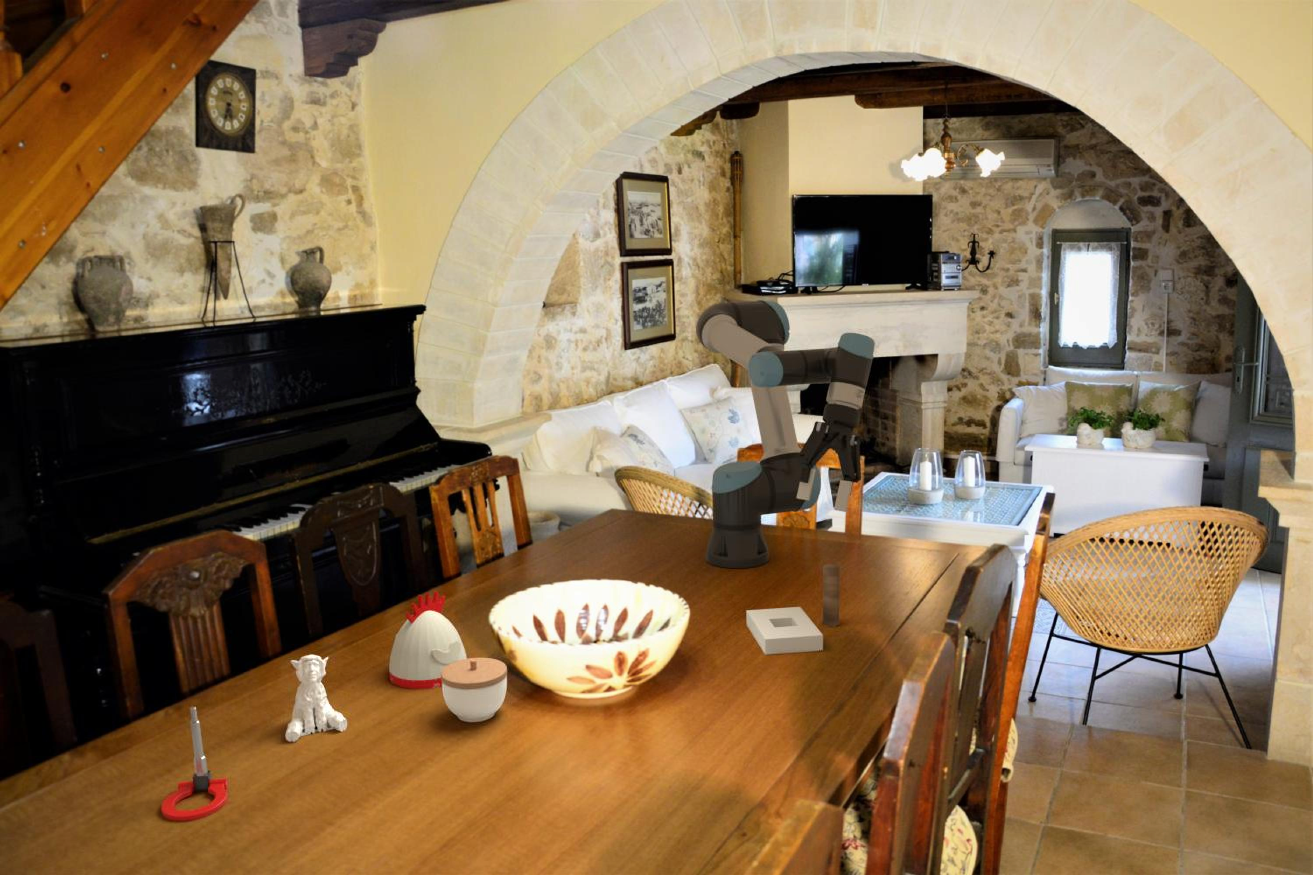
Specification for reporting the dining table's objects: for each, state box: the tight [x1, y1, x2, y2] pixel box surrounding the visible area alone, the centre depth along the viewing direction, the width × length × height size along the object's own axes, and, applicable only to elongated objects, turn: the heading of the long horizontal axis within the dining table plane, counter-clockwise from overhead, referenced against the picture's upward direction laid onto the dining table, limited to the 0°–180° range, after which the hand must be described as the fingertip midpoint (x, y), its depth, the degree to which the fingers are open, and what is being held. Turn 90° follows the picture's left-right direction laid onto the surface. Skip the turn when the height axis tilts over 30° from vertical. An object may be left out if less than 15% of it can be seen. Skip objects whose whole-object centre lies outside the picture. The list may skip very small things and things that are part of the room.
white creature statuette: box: [284, 654, 348, 743], centre depth 170 cm, size 10×9×12 cm
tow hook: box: [161, 706, 229, 822], centre depth 147 cm, size 8×13×9 cm
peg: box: [822, 563, 840, 627], centre depth 211 cm, size 3×3×12 cm
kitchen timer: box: [388, 590, 468, 690], centre depth 191 cm, size 14×14×15 cm
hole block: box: [745, 606, 824, 655], centre depth 205 cm, size 16×11×3 cm
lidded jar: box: [441, 657, 508, 723], centre depth 174 cm, size 11×11×9 cm
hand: (821, 505), depth 221 cm, fingers open, 13 cm apart
